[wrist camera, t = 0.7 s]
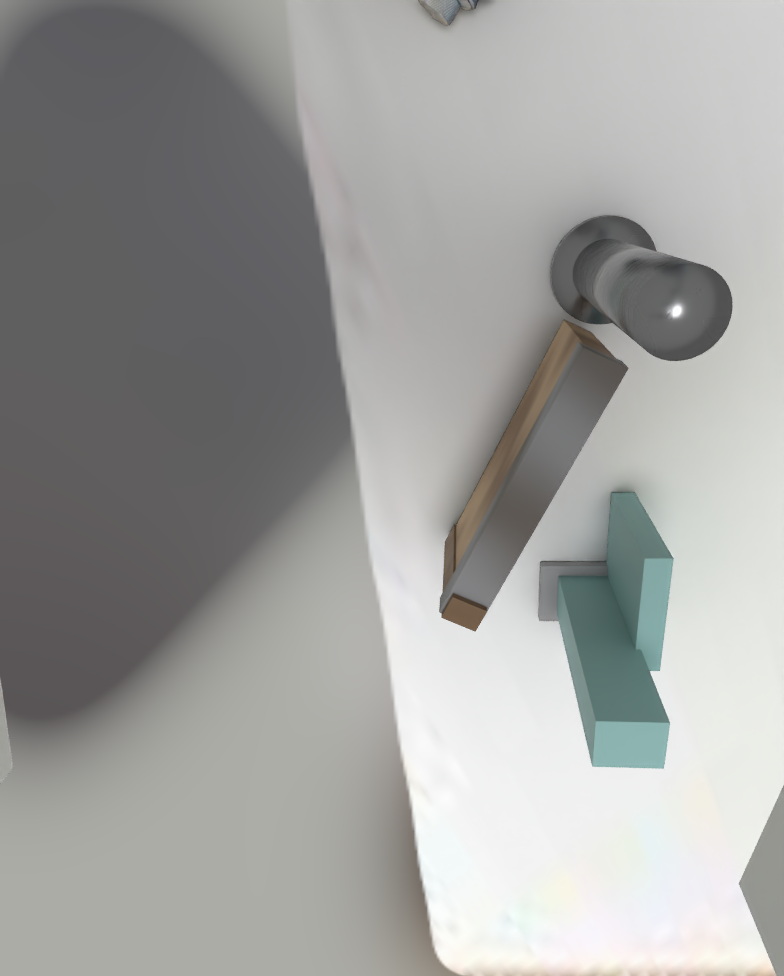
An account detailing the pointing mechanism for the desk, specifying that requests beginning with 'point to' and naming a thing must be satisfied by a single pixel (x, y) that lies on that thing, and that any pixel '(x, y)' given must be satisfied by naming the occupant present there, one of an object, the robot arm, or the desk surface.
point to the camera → (447, 8)
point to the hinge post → (639, 289)
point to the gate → (526, 470)
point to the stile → (616, 636)
